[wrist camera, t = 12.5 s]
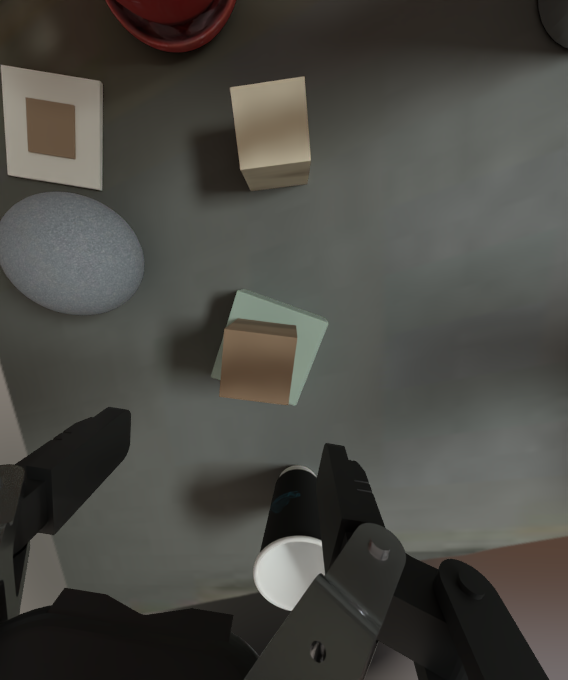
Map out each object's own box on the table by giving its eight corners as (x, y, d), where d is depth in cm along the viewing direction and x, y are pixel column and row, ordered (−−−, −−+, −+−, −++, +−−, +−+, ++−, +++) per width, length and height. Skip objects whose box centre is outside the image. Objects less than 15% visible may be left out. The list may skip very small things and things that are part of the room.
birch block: (243, 127, 26) (229, 87, 20) (301, 118, 25) (304, 76, 20) (251, 191, 27) (240, 169, 21) (307, 184, 26) (310, 160, 21)
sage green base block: (244, 288, 29) (237, 290, 25) (323, 317, 30) (328, 322, 26) (220, 364, 31) (210, 377, 27) (295, 390, 32) (295, 405, 28)
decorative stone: (49, 236, 28) (-80, 215, 18) (130, 190, 27) (38, 141, 17) (102, 323, 30) (11, 345, 20) (180, 284, 29) (123, 287, 19)
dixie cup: (278, 445, 33) (271, 526, 22) (340, 466, 33) (362, 556, 22) (256, 497, 34) (240, 596, 24) (315, 517, 35) (325, 623, 24)
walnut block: (238, 318, 26) (224, 328, 20) (296, 325, 26) (297, 337, 20) (233, 373, 27) (219, 396, 22) (288, 379, 27) (288, 405, 22)
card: (5, 67, 25) (-2, 62, 24) (102, 83, 25) (98, 79, 24) (11, 176, 27) (5, 173, 26) (102, 190, 27) (98, 188, 26)
